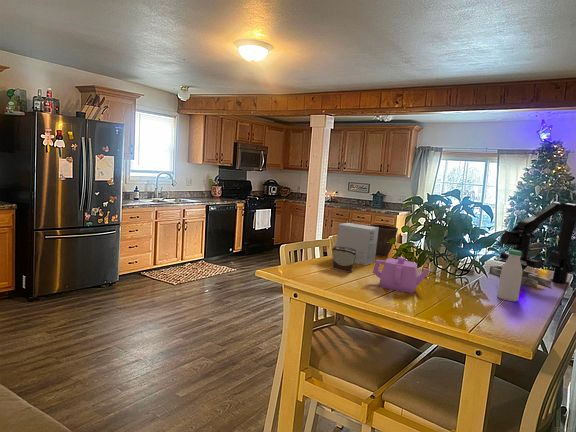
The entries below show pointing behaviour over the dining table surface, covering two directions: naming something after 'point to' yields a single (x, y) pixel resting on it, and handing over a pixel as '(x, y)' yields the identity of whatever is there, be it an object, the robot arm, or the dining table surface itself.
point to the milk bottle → (510, 277)
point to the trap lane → (524, 277)
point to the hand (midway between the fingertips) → (517, 276)
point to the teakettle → (399, 274)
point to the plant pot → (385, 239)
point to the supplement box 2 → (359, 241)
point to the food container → (344, 258)
